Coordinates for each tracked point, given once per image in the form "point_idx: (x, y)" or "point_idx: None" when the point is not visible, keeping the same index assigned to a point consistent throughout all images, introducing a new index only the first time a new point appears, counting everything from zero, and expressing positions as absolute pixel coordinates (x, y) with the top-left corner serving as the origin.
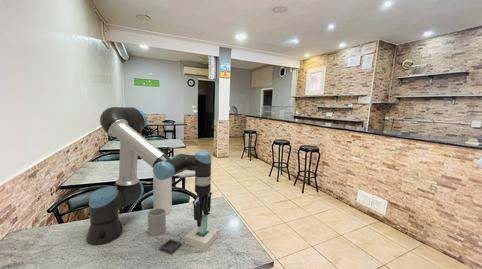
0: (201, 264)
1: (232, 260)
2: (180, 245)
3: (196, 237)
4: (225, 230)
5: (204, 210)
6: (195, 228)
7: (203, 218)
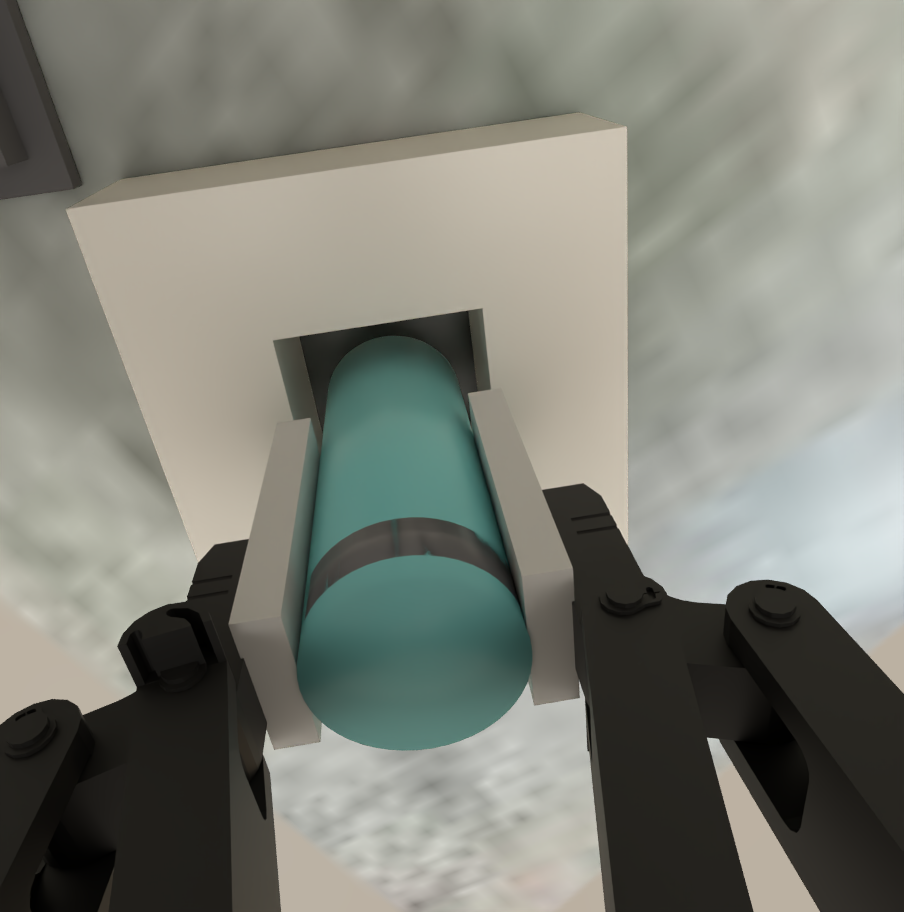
0: (49, 638)
1: (324, 796)
2: (12, 169)
3: (220, 430)
4: (775, 482)
5: (593, 752)
6: (436, 197)
7: (355, 736)
